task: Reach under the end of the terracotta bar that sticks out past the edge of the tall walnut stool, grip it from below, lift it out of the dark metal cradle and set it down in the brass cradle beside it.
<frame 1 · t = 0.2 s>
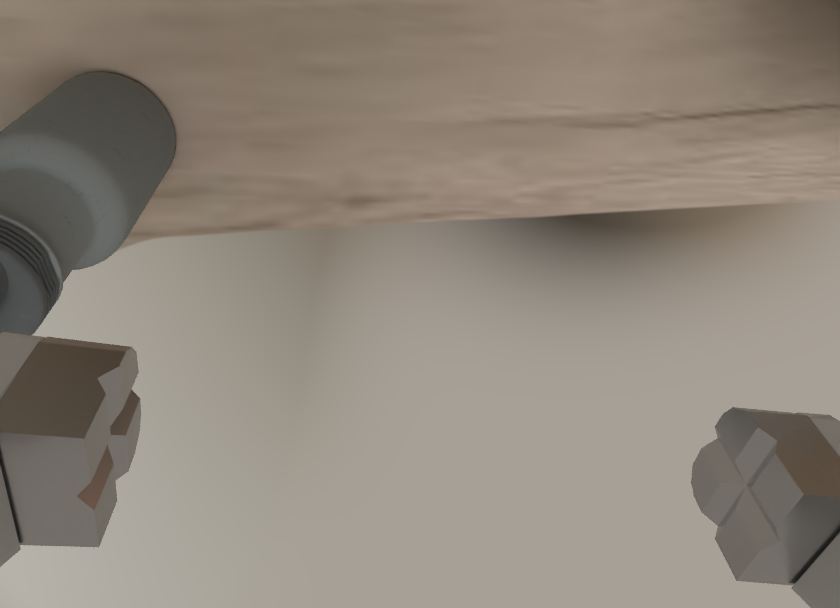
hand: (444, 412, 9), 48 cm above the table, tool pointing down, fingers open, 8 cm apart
water bottle: (116, 130, 54), on the table
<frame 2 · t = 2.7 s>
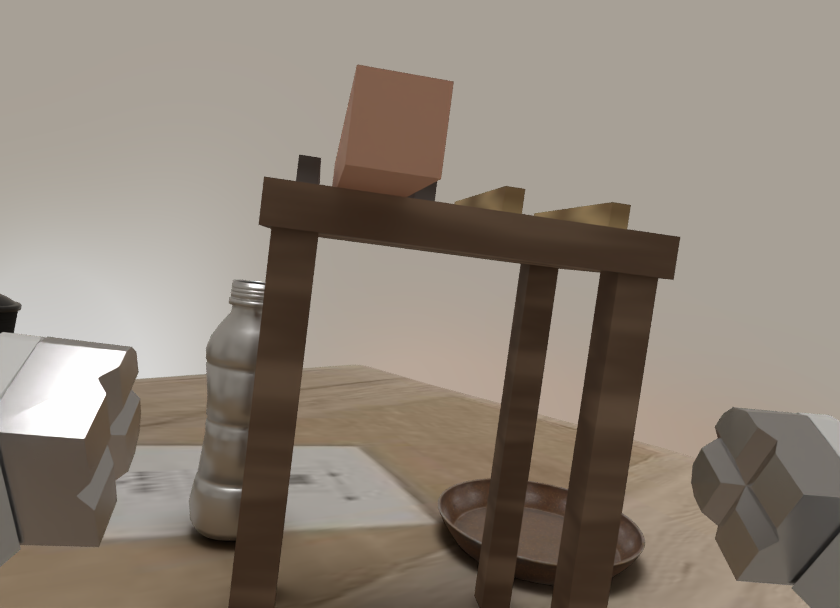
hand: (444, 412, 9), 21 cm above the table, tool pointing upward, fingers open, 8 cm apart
plastic bottle: (228, 535, 52), on the table
terracotta bar: (365, 198, 32), point 26 cm above the table, touching walnut stool
plant saucer: (533, 550, 57), on the table
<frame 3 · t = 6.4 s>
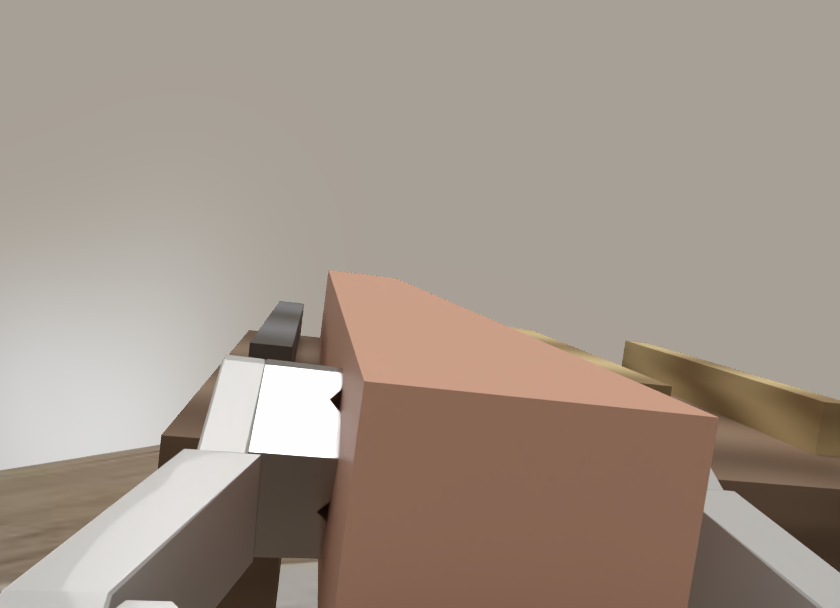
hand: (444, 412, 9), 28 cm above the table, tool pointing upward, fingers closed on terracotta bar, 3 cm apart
terracotta bar: (376, 406, 17), point 26 cm above the table, touching gripper, walnut stool
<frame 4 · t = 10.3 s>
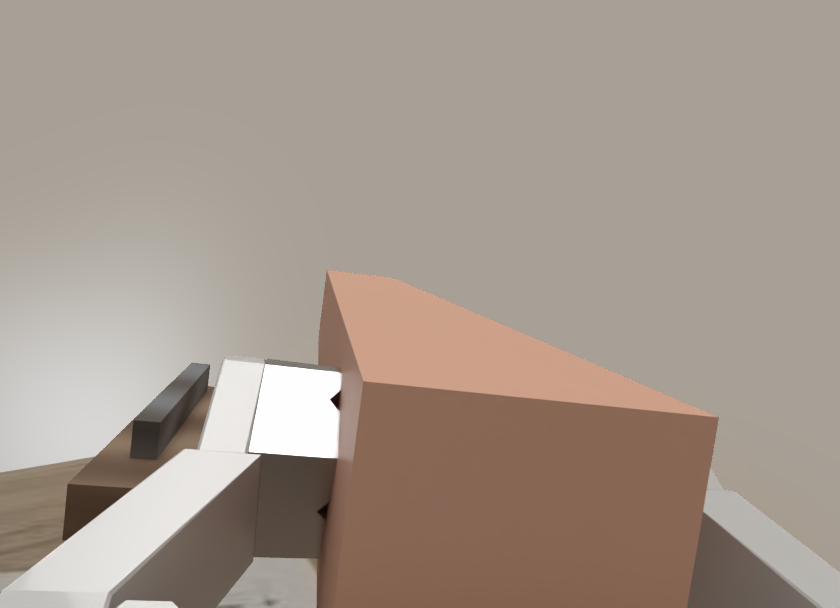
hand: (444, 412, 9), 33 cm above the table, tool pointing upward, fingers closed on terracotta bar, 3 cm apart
terracotta bar: (375, 406, 17), point 31 cm above the table, touching gripper
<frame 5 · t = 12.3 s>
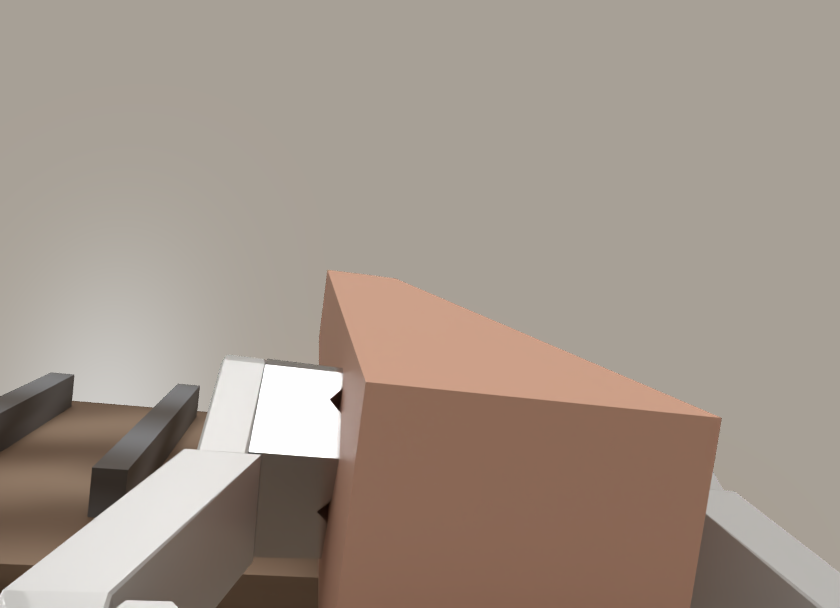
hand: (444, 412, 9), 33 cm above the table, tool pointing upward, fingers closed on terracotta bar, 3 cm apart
terracotta bar: (376, 406, 17), point 31 cm above the table, touching gripper
when the fingers open (29 cm above the table, at t = 14.3 s): terracotta bar drops 1 cm, resting on walnut stool.
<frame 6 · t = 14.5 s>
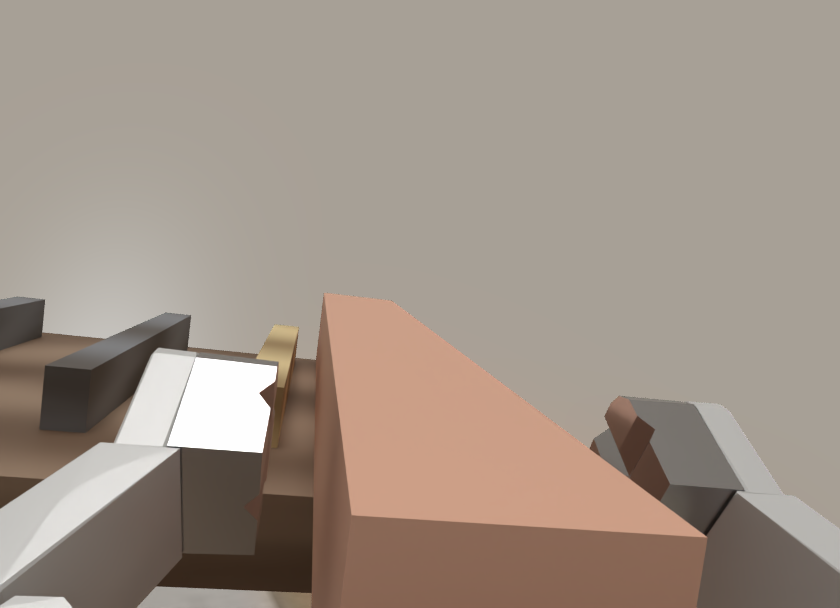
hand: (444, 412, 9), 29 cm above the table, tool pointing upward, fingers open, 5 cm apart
terracotta bar: (371, 444, 17), point 26 cm above the table, touching walnut stool
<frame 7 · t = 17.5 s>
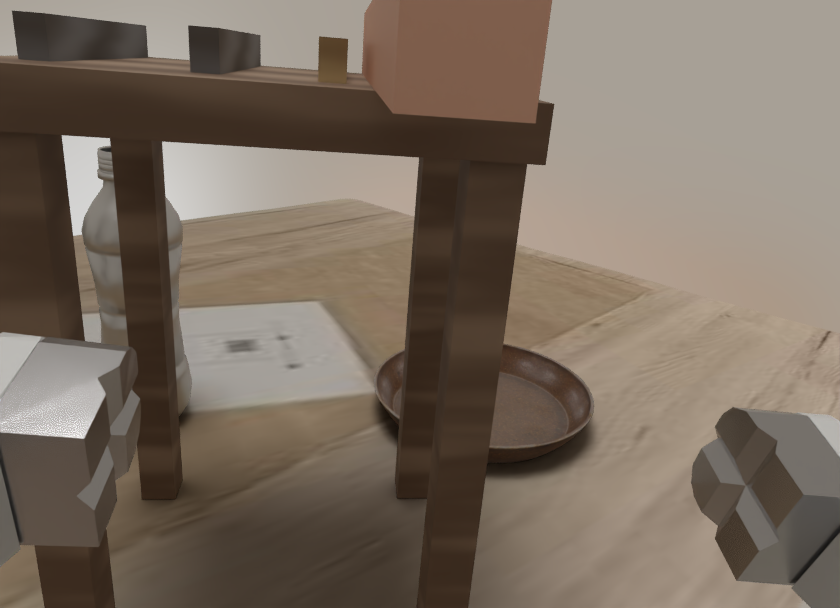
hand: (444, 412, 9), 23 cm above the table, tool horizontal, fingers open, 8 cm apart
plastic bottle: (148, 418, 50), on the table
terracotta bar: (410, 87, 25), point 26 cm above the table, touching walnut stool
plant saucer: (478, 418, 54), on the table
walnut stool: (280, 560, 37), on the table
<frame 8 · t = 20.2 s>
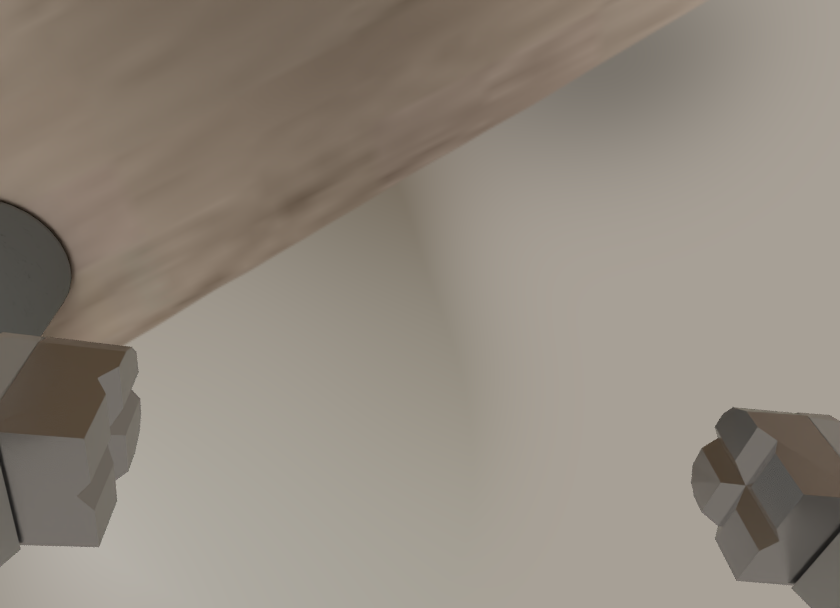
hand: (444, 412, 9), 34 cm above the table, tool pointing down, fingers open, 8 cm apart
water bottle: (1, 258, 45), on the table
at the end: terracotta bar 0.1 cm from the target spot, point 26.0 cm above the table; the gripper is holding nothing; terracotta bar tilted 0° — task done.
